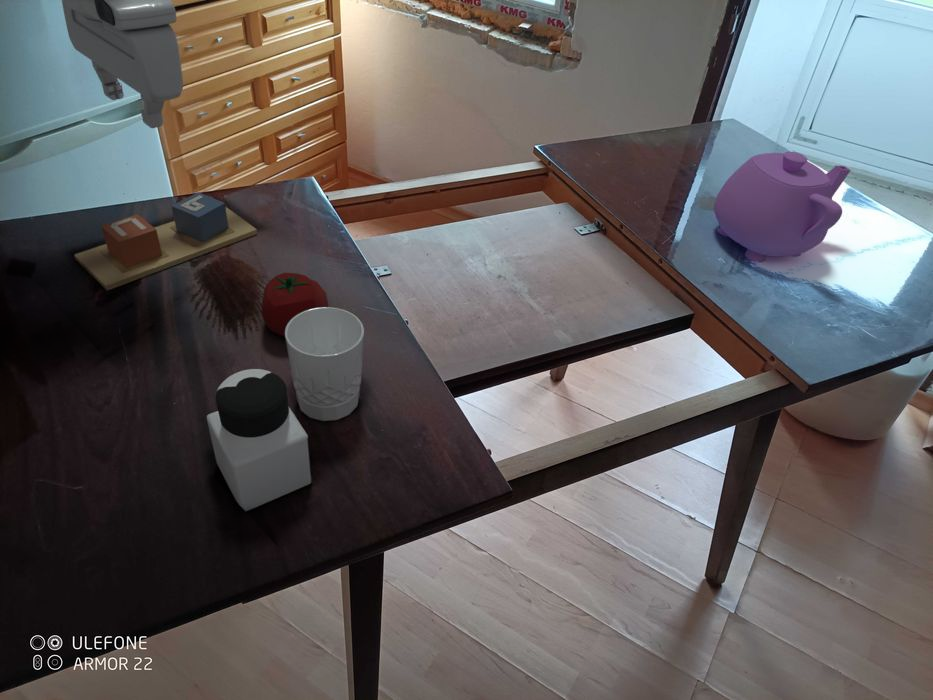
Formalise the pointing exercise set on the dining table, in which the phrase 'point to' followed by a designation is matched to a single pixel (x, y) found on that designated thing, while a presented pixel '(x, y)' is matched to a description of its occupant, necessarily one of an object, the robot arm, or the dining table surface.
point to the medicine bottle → (258, 439)
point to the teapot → (779, 205)
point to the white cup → (326, 361)
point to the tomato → (290, 299)
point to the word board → (173, 252)
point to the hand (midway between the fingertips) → (133, 111)
